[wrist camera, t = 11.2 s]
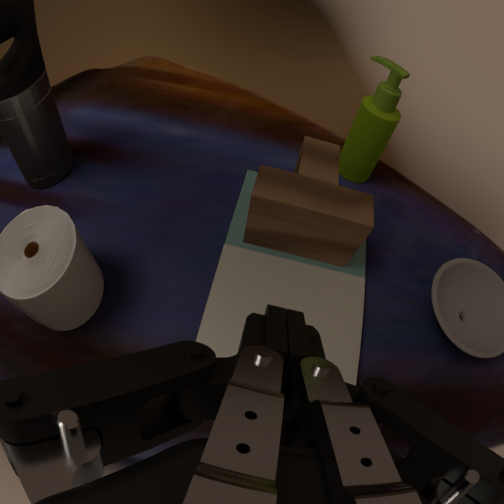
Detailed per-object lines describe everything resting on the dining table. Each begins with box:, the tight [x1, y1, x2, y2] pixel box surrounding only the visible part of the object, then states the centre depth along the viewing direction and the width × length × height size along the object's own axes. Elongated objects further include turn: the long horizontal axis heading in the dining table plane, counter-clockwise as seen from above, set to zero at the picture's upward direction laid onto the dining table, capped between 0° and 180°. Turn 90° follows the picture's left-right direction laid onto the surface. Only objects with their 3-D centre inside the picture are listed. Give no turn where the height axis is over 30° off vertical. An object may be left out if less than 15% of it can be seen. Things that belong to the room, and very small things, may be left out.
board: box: [196, 170, 366, 386], centre depth 38 cm, size 30×18×1 cm, turn 168°
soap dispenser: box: [339, 56, 410, 183], centre depth 42 cm, size 6×7×20 cm
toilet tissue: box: [0, 205, 104, 331], centre depth 30 cm, size 11×12×10 cm
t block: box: [243, 136, 374, 267], centre depth 38 cm, size 12×13×9 cm
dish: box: [431, 258, 504, 358], centre depth 36 cm, size 18×14×5 cm
